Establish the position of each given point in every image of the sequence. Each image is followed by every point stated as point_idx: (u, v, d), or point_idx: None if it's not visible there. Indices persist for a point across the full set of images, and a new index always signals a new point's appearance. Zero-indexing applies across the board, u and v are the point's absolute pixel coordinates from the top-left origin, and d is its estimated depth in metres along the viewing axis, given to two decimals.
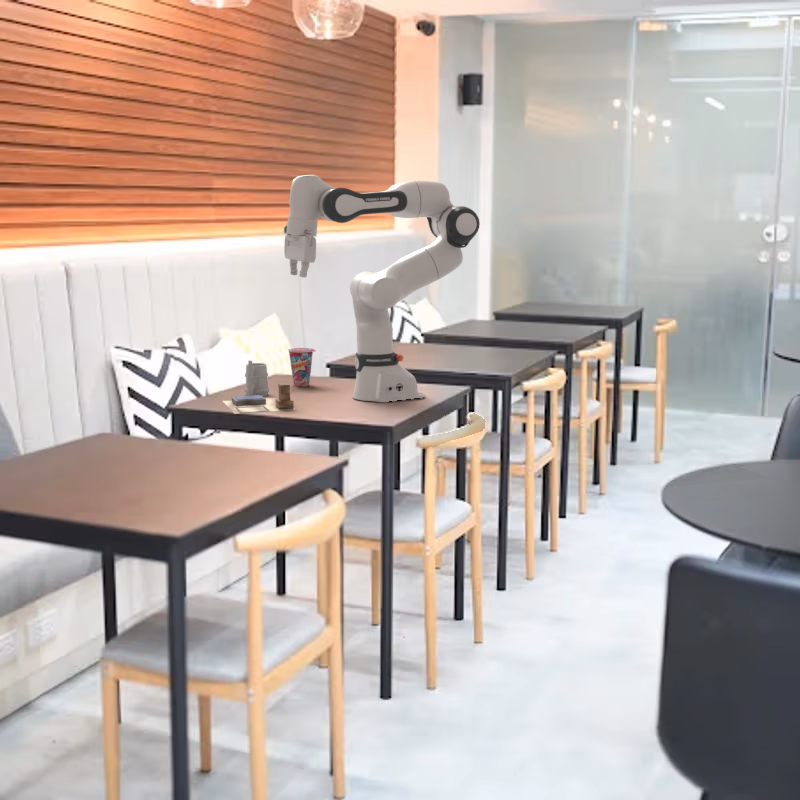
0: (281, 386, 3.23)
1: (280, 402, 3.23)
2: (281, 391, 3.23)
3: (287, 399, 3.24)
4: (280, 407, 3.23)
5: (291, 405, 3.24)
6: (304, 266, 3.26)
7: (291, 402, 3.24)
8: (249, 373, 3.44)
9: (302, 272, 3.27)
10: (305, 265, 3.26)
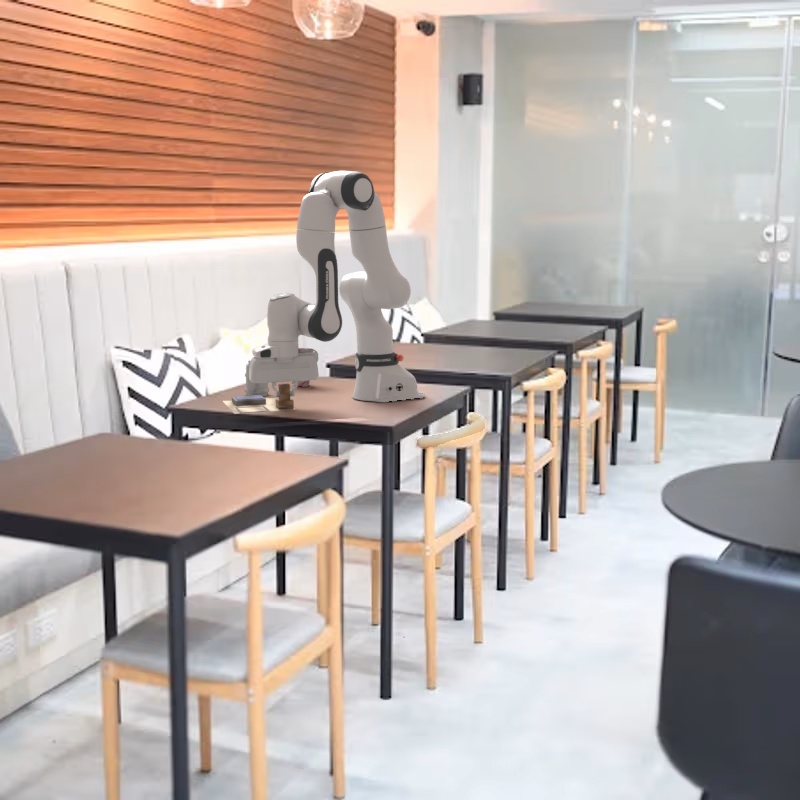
0: (281, 386, 3.23)
1: (280, 402, 3.23)
2: (281, 391, 3.23)
3: (287, 399, 3.24)
4: (280, 407, 3.23)
5: (291, 405, 3.24)
6: None
7: (291, 402, 3.24)
8: None
9: None
10: None
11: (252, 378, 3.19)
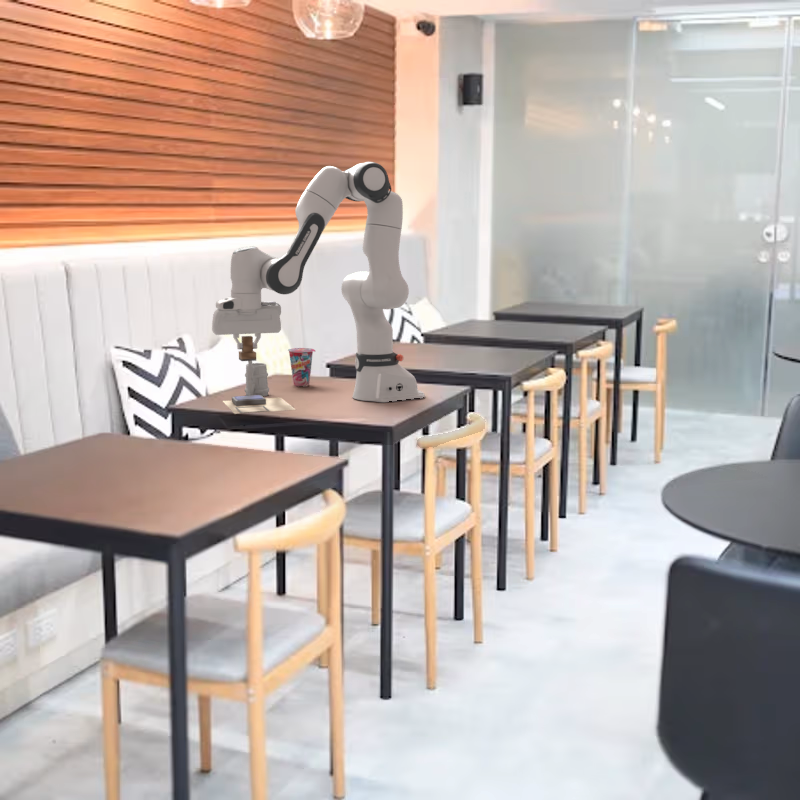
0: (244, 338, 3.28)
1: (243, 354, 3.28)
2: (244, 343, 3.28)
3: (250, 351, 3.29)
4: (243, 359, 3.28)
5: (254, 357, 3.29)
6: None
7: (254, 354, 3.29)
8: (249, 373, 3.44)
9: None
10: None
11: (215, 329, 3.24)
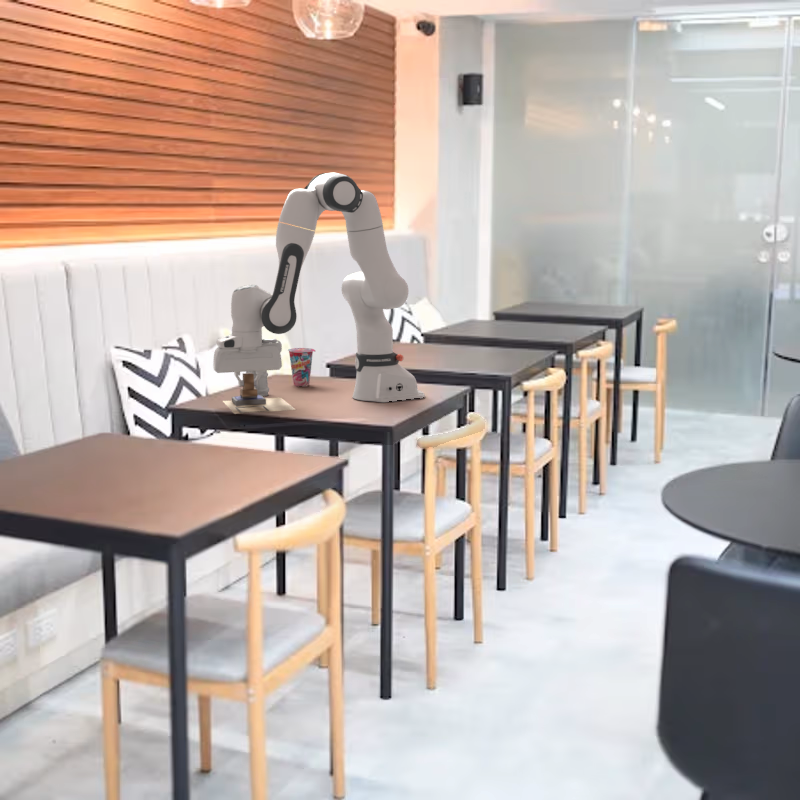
0: (245, 376, 3.30)
1: (244, 391, 3.30)
2: (245, 380, 3.30)
3: (251, 388, 3.31)
4: (244, 396, 3.30)
5: (255, 394, 3.31)
6: None
7: (255, 391, 3.31)
8: None
9: None
10: None
11: (216, 368, 3.27)
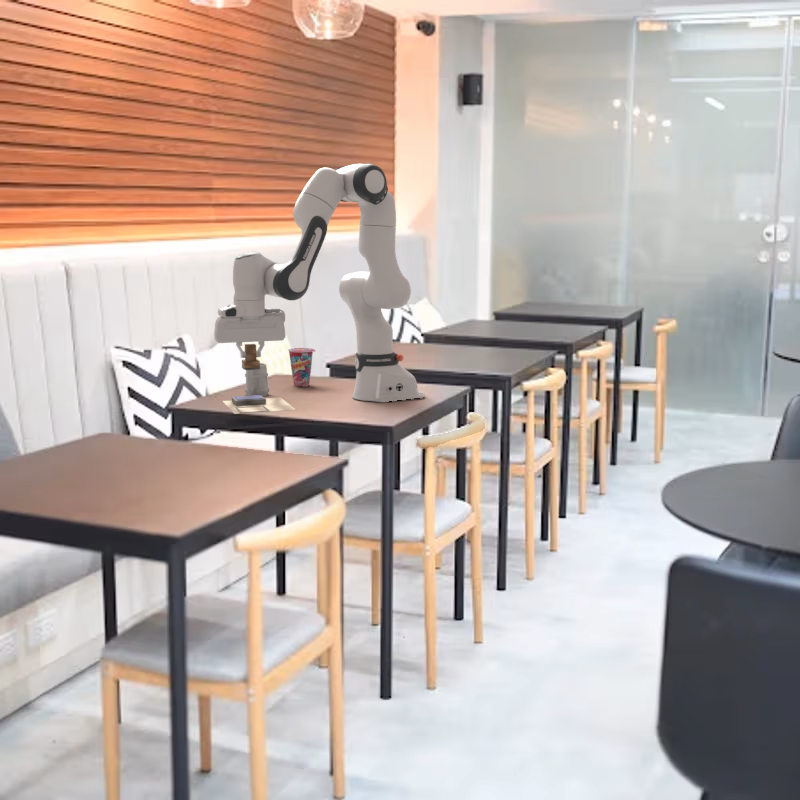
0: (247, 346, 3.18)
1: (246, 362, 3.18)
2: (247, 351, 3.18)
3: (253, 359, 3.19)
4: (246, 367, 3.18)
5: (257, 366, 3.19)
6: None
7: (257, 363, 3.19)
8: (249, 373, 3.44)
9: None
10: None
11: (217, 337, 3.15)
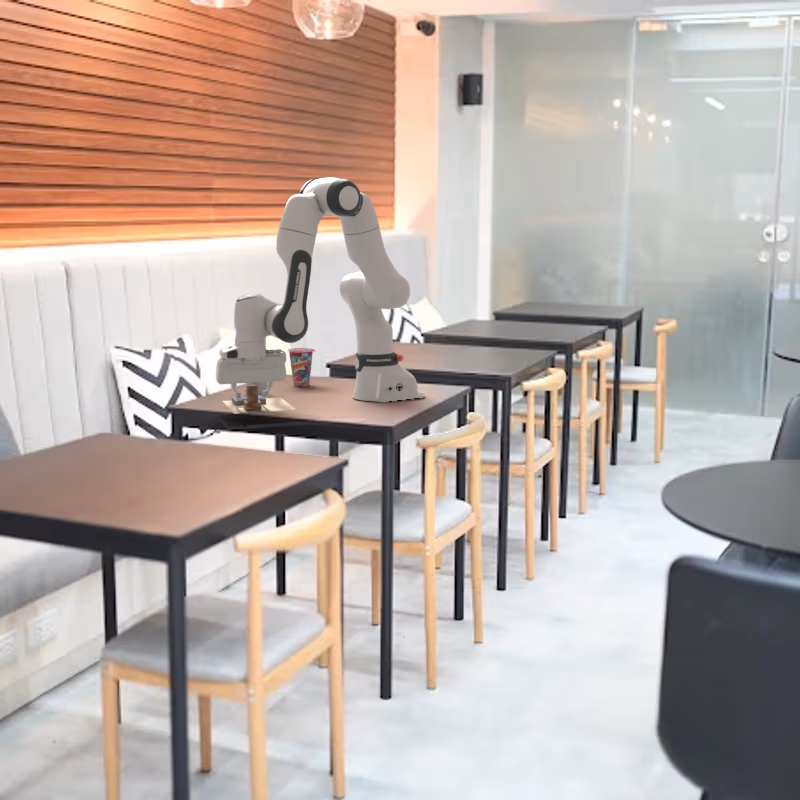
0: (249, 388, 3.20)
1: (248, 404, 3.20)
2: (249, 393, 3.21)
3: (255, 401, 3.22)
4: (248, 409, 3.21)
5: (259, 407, 3.21)
6: None
7: (259, 404, 3.21)
8: None
9: None
10: None
11: (219, 379, 3.17)
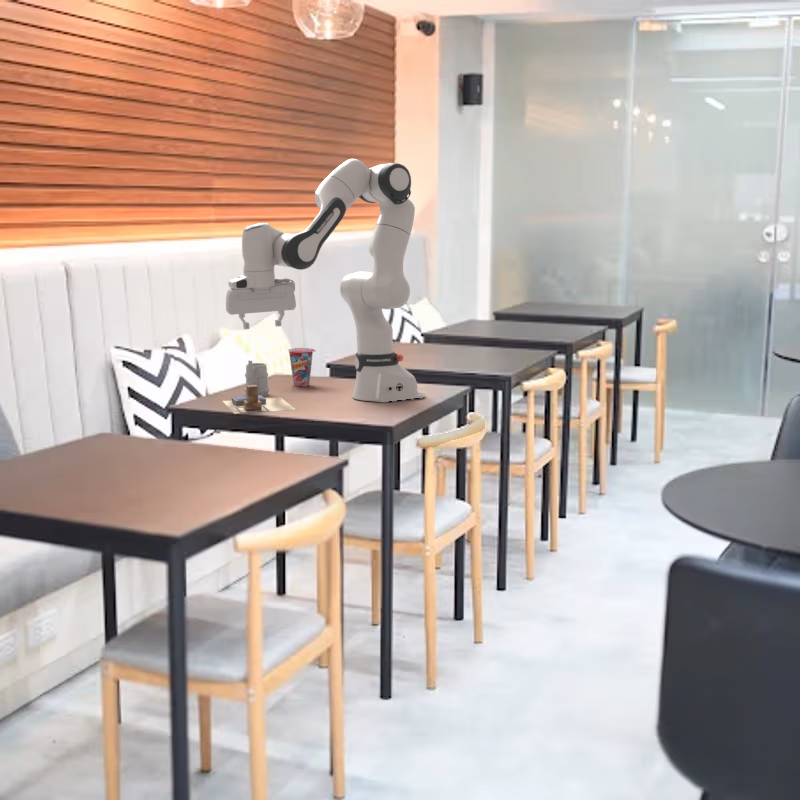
0: (249, 388, 3.20)
1: (248, 404, 3.20)
2: (249, 393, 3.21)
3: (255, 401, 3.22)
4: (248, 409, 3.21)
5: (259, 407, 3.21)
6: None
7: (259, 404, 3.21)
8: (249, 373, 3.44)
9: None
10: None
11: (229, 309, 3.18)
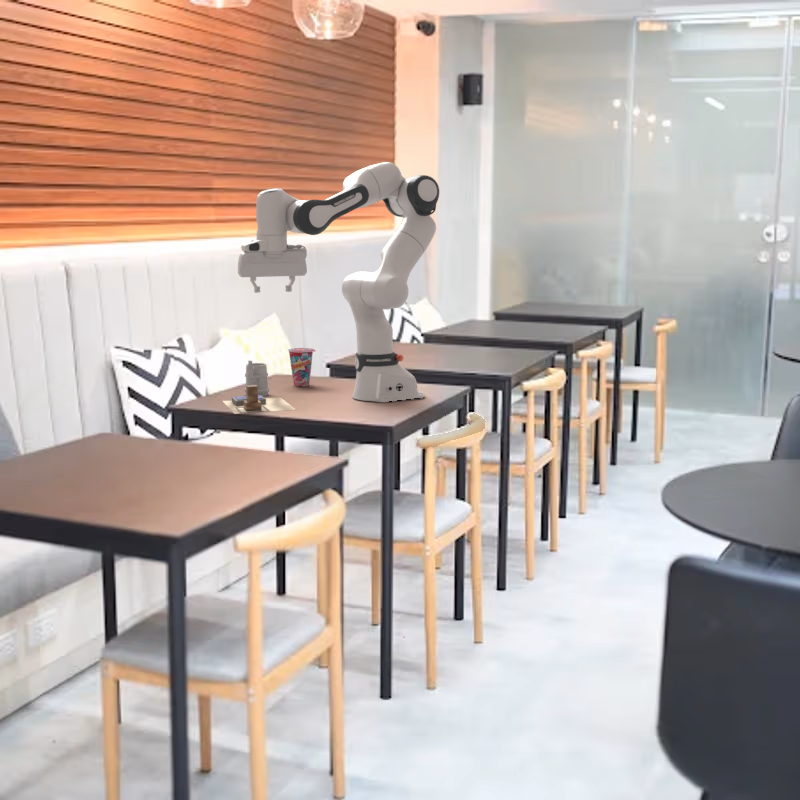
0: (249, 388, 3.20)
1: (248, 404, 3.20)
2: (249, 393, 3.21)
3: (255, 401, 3.22)
4: (248, 409, 3.21)
5: (259, 407, 3.21)
6: None
7: (259, 404, 3.21)
8: (249, 373, 3.44)
9: None
10: None
11: (241, 272, 3.23)
